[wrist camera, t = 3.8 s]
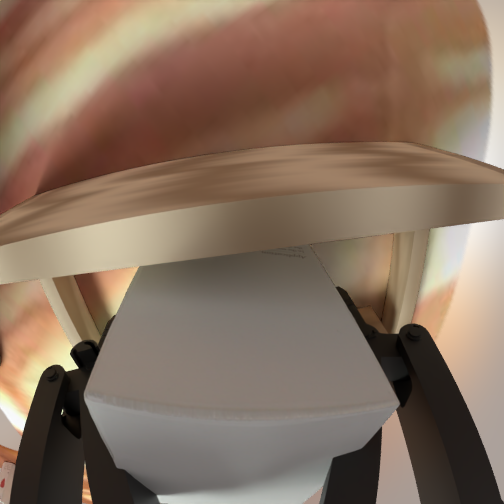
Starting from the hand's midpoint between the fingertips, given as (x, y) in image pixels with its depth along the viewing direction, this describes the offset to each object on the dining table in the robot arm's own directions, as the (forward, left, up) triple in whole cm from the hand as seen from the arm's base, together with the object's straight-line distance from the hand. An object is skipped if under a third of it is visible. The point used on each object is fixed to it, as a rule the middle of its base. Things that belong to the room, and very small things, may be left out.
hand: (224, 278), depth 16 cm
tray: (0, -3, -2) cm, 3 cm away
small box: (0, 0, -2) cm, 2 cm away
